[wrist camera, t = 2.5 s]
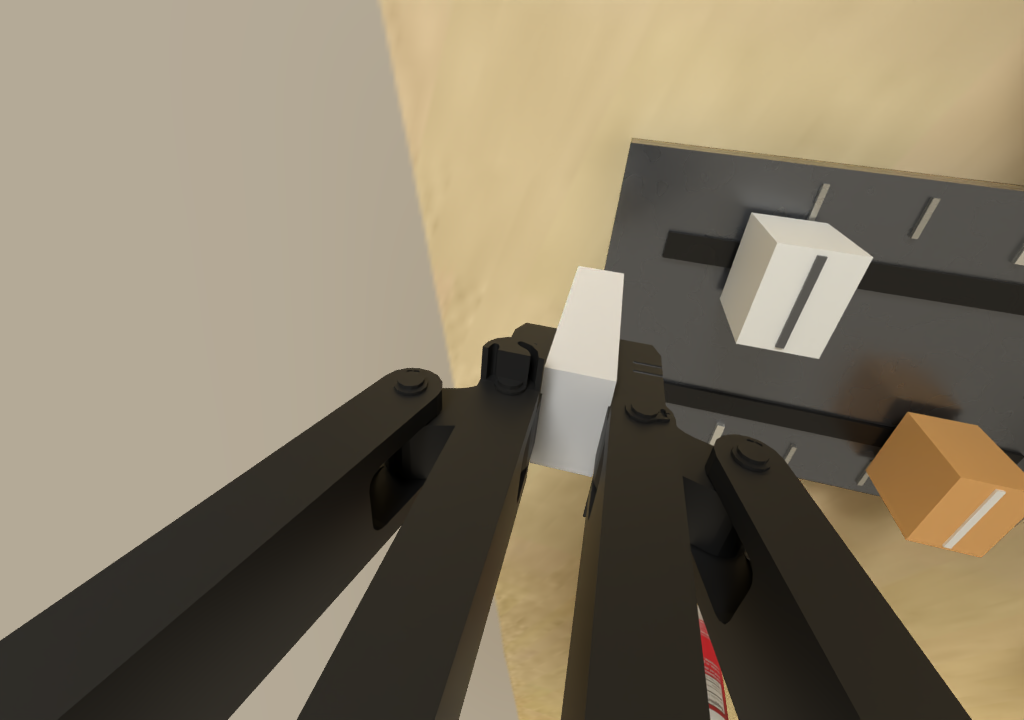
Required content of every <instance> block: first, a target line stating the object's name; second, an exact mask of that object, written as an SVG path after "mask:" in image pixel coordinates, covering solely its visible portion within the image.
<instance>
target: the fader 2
mask: <svg viewBox="0 0 1024 720" xmlns="http://www.w3.org/2000/svg"><path fill="white" fill-rule="evenodd" d="M866 472H867V474H868V475H869V477H870V479H871V481H872V482H873V484H874V486H875V487H876V489H877V491H878V493H879V494H880V496H881V498H882V500H883V501H884V503H885V505H886V506H887V508H888V510H889V512H890V513H891V515H892V517H893V519H894V520H895V522H896V524H897V525H898V527H899V529H900V531H901V532H902V534H903V536H904V537H905V539H906V540H909V541H913V542H917V543H921V544H926V545H930V546H934V547H938V548H943V549H947V550H951V551H955V552H959V553H964V554H968V555H972V556H976V557H982V556H983V555H985V554H986V553H987V552H988V551H989V550H990V549H991V548H992V547H993V546H994V545H995V544H996V543H997V542H998V541H999V540H1000V539H1002V538H1003V537H1004V536H1005V535H1006V534H1007V533H1008V532H1009V531H1010V530H1011V529H1012V528H1013V527H1014V526H1015V525H1016V524H1017V523H1019V522H1020V521H1021V520H1022V519H1023V518H1024V472H1023V471H1022V470H1021V469H1020V468H1019V467H1018V466H1017V465H1016V464H1015V463H1014V462H1013V461H1012V460H1011V459H1010V458H1009V457H1008V456H1007V455H1006V454H1005V453H1004V452H1003V451H1002V450H1001V449H1000V448H999V447H998V446H997V445H996V444H995V443H994V441H993V440H992V439H991V438H990V437H989V436H988V435H987V434H986V433H985V432H984V431H983V430H982V429H981V428H980V427H979V426H978V425H973V424H968V423H963V422H958V421H953V420H948V419H942V418H937V417H932V416H927V415H922V414H917V413H912V412H907V413H906V415H905V416H904V417H903V419H902V420H901V422H900V423H899V424H898V426H897V427H896V429H895V430H894V431H893V433H892V434H891V436H890V437H889V438H888V440H887V441H886V443H885V444H884V445H883V447H882V448H881V450H880V451H879V452H878V454H877V455H876V457H875V458H874V459H873V461H872V462H871V464H870V465H869V466H868V468H867V469H866Z"/></svg>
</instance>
